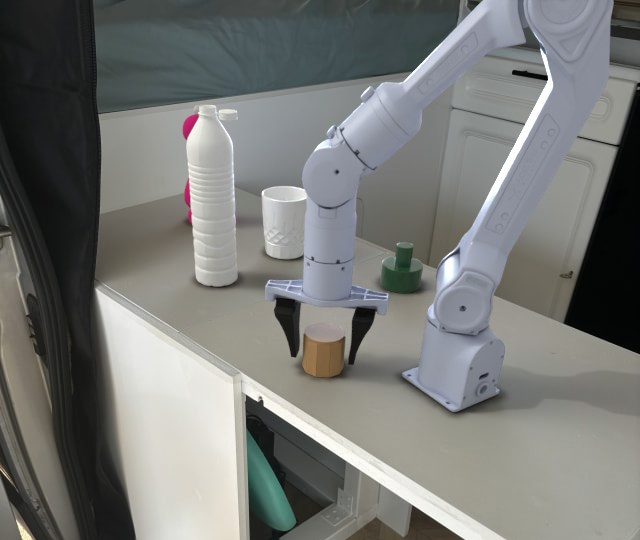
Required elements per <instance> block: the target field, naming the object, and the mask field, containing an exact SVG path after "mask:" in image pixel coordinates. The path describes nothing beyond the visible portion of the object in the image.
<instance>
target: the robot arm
mask: <svg viewBox="0 0 640 540" xmlns="http://www.w3.org/2000/svg"><path fill="white" fill-rule="evenodd" d="M614 4H615V3H614V0H482V1H480V2H479V4H478V5H476V7H474V9H473V10H471V11H470V12H469V14H468V15H467V16H466V17H465V18H464V19H463V20H461V22H460V23H459V24H458V25H457V26H456V27H455V28H454V29H453V30H452V31H451V32H450V33H449V34H448V36H446V38H445V39H444V40H443V41H441V43H439V45H438V46H436V48H434V49H433V51H432V52H431V53H430V54H429V55H428V56H427V57H426V58H425V59H424V60H423V61H422V63H420V64H419V65H418V66H417V67H416V68H415V70H413V71H412V73H410V74H409V76H408V77H406V79H405V80H403V81H402V82H388V81H386V82H382V83H380V85H379V86H377V87H376V88H374V87H373V86H369V87H368V88H366V90H364V92H363V93H362V94H361V96H360V97H359V98H360V100H361V101H362V103H360V105H359V106H358V107H357V108H356V109H354V110H353V112H351V114H349V116H348V117H347V118H345V120H344V121H342V123H341V124H340V125H338V126H337V125H336V124H334V125H332V126H331V127H330V128H329V129H328V130H327V132H326V136H327V139H324V140H323V141H322V142H321V143H319V144H318V145H317V146H316V148H315V149H313V151H312V152H311V154H310V156H309V157H308V158H307V160H306V162H305V163H304V166H303V169H302V173H301V182H302V187H303V189H304V190H305V192H306V193H307V198H306V204H307V211H306V213H305V234H304V254H303V271H302V273H303V274H302V275H303V276H302V279H289V280H284V279H283V280H279V279H269V280H268V281H267V282H266V284H265V286H264V296H265V297H264V298H265V299H264V300H265V302H270V303H273V302H275V306H274V309H273V314H274V317H275V319H276V320H277V321H278V323H279V325H280V327H281V329H282V331H283V333H284V335H285V339H286V341H287V345H288V348H289V354H290V357H291V358H295V359H297V357H298V354H299V351H300V346H301V336H300V335H301V332H300V321H301V319H300V318H301V309H302V308H301V307H302V304H308V305H312V306H314V307H319V308H329V309H330V308H340V309H341V308H342V309H350V310H354V313H353V315H352V319H351V334H350V335H351V336H350V347H349V351H348V352H349V353H348V360H347V362H348V363H347V365H349V366H354V365H355V362H356V357H357V353H358V351H359V349H360V346H361V344H362V342H363V340H364V338H365V337H366V335H367V334H368V332H369V331H370V330H371V328H372V326H373V325H374V322H375V318H376V315H378V316H387V312H388V307H389V297H390V293H386V292H380V291H375V290H372V289H370V288H369V289H368V288H365V287H361V286H358V285H355V284H354V285H353V273H354V259H355V247H356V236H357V235H356V234H357V224H358V223H357V221H358V215H357V211H356V209H357V199H358V197H357V196H358V189H359V186H360V183H361V180H362V178H363V177H365V176H369V175H372V174H374V173H375V172H376V171H377V170H378V169H379V168H381V166H382V165H384V164H385V163H386V162H387V161H388V160H389V159H390V158H391V157H392V156H393V155H395V154H396V153H397V152H398V151H399V150H400V149H402V147H403V146H404V145H406V143H408V142H409V141H410V140H412V139H413V137H415V135H417V134H418V133H419V132H420V130H421V124H422V115H423V110H424V109H425V108H426V107H427V106H429V104H430V103H432V102H433V101H434V100H436V99H437V98H438V97H439V96H440V95H441V94H443V92H444V91H445V90H447V89H448V88H450V87H451V86H452V84H454V83H455V82H456V81H457V80H459V79H460V77H462V76H463V75H464V74H466V72H467V71H469V70H470V69H471V68H472V67H474V65H476V64H477V63H478V62H479V61H480V60H481V59H482V58H484V57H485V56H486V55H487V54H489V52H491V51H493V50H497V49H502V48H508V47H513V46H518V45H524V44H526V43H527V39H526V36H525V33H524V29H526V28H529V30H530V31H531V32H532V34H533V35H534V36H535V38H536V40H537V41H538V43H539V50H540V53H541V57H542V60H543V63H544V68H545V70H546V74H547V79H548V80H547V83H546V85H545V87H544V88H543V90H542V92H541V94H540V96H539V98H538V100H537V102H536V104H535V106H534V107H533V110H532V112H531V113H530V115H529V117H528V119H527V121H526V122H525V124H524V126H523V128H522V130H521V133H520V134H519V136H518V138H517V139H516V142H515V144H514V145H513V147H512V150H511V151H510V153H509V155H508V157H507V159H506V161H505V163H504V164H503V166H502V168H501V170H500V172H499V174H498V176H497V178H496V180H495V181H494V184H493V185H492V187H491V188H490V191H489V193H488V195H487V197H486V199H485V201H484V202H483V204H482V206H481V209H480V210H479V212H478V213H477V216H476V218H475V219H474V221H473V223H472V226H471V227H470V229H468V230H467V232H465V233H464V234H463V236H462V237H461V239H460V241H459V242H458V244H457V246H456V247H455V248H454V249H453V250H452V251H451V252H449V253H448V254H447V255H445V256H444V257H443V258H442V259H441V261H440V262H439V263H438V265H437V268H436V271H435V280H436V281H435V282H436V285H435V287H436V288H435V296H434V300H433V303H432V304H431V305H430V306H429V307H428V308H427V310H426V316H425V323H424V329H423V336H422V341H421V347H420V348H421V349H420V355H419V360H418V366H417V367H414V368H411V369H408V370H406V371H403V372H402V373H401V377H403V378H404V380H406V381H408V382H409V383H411V384H412V385H413V386H415V387H416V388H418V389H419V390H420V391H422V392H423V393H425V394H426V395H427V396H429V397H430V398H432V399H433V400H435V401H436V402H437V403H438V404H440V405H442V406H443V407H444V408H446V409H447V410H449V411H450V412H452V413H457V412H459V411H462V410H465V409H467V408H469V407H471V406H474V405H476V404H478V403H480V402H483V401H485V400H489V399H490V398H492V397H495V396H498V395H499V394H500V392H501V391H500V389H499V388H498V384H499V379H500V375H501V371H502V367H503V364H504V363H503V362H504V359H505V355H506V346H505V343H504V342H503V340H502V339H501V338H499V337H498V336H497V335H496V334H495V333H494V331H493V329H492V328H491V325H490V317H491V315H492V313H493V308H494V296H495V292H496V290H497V289H498V287H499V285H500V284H501V281H502V278H503V274H504V271H505V267H506V264H507V261H508V258H509V255H510V253H511V252H512V250H513V248H514V246H515V245H516V243H517V241H518V239H519V237H520V236H521V234H522V233H523V231H524V229H525V228H526V226H527V224H528V222H529V220H530V219H531V218H532V215H533V214H534V212H535V210H536V208H537V207H538V205H539V203H540V201H541V200H542V198H543V196H544V194H545V193H546V191H547V190H548V188H549V186H550V185H551V183H552V181H553V179H554V177H555V176H556V174H557V172H558V170H559V169H560V167H561V166H562V164H563V162H564V160H565V158H566V157H567V155H568V154H569V151H570V150H571V148H572V147H573V145H574V143H575V141H576V139H577V138H578V136H579V135H580V132H581V131H582V129H583V128H584V126H585V124H586V123H587V120H588V119H589V117H590V115H591V113H592V112H593V110H594V108H595V107H596V105H597V103H598V102H599V100H600V98H601V97H602V95H603V93H604V91H605V89H606V86H607V85H608V82H609V80H610V79H609V78H610V57H611V56H610V55H611V54H610V52H611V50H610V49H611V20H612V15H613V9H614Z"/></svg>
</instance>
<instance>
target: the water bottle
mask: <svg viewBox="0 0 640 540" xmlns="http://www.w3.org/2000/svg"><path fill="white" fill-rule="evenodd" d="M199 105H200V106H199V111H200V112H198V114H199V118H198V120H197V122H196V124H195V125H194V127H193V129H192V131H191V133H190V134H189V136H188V139H187V140H186V144H185V145H186V147H185V150H186V158H187V167H188V168H187V171H188V177H189V184H190V196H191V198H190V201H191V212H192V224H191V226H192V237H193V241H192V242H193V250H194V254H193V255H194V262H195V263H194V269H195V270H194V271H195V279H196V281H197V282H198V283H199V284H202V285H203V286H206V287H211V286H212V287H214V288H215V287H216V288H217V287H218V288H219V287H220V288H221V287H224V286H229V285H232V284H234V283H235V282H236V281H237V280H238V277H239V276H238V273H239V272H238V263H237V261H238V253H237V238H236V235H237V228H236V224H237V221H236V219H237V218H236V214H235V213H236V199H235V173H234V172H235V170H234V144H233V140H232V138H231V136H230V135H229V133H228V131H227V130H226V128H225V127H224V125H223V124H222V122H221V121H224V122H233V121H238V119H239V117H238V116H239V115H238V113H239V112H238V110H236V109H230V108H223V109H219V110H217V106H216V105H214V104H199ZM220 120H221V121H220Z"/></svg>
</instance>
